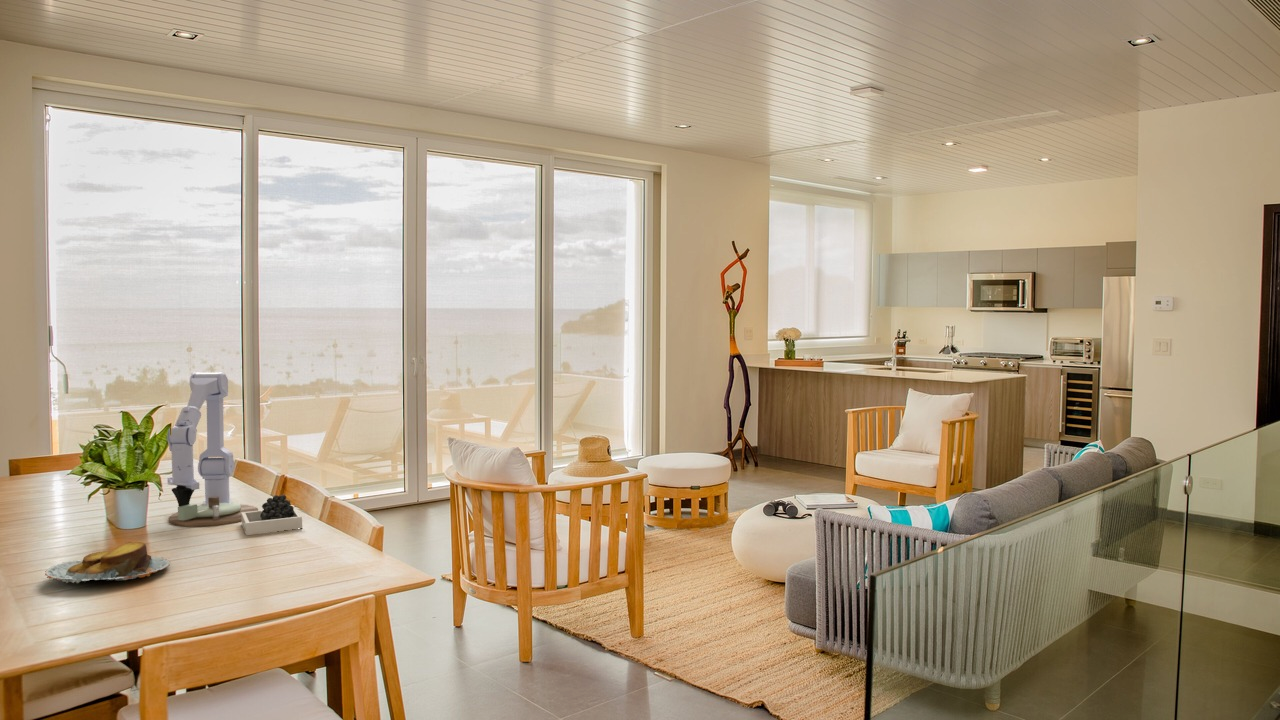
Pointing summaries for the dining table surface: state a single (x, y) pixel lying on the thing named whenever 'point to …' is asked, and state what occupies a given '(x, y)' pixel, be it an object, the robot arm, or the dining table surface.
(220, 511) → the flange plate
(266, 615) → the dining table surface
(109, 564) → the food on plate
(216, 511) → the dowel
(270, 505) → the fruit
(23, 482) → the dining table surface
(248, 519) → the fruit frame
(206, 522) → the base board
